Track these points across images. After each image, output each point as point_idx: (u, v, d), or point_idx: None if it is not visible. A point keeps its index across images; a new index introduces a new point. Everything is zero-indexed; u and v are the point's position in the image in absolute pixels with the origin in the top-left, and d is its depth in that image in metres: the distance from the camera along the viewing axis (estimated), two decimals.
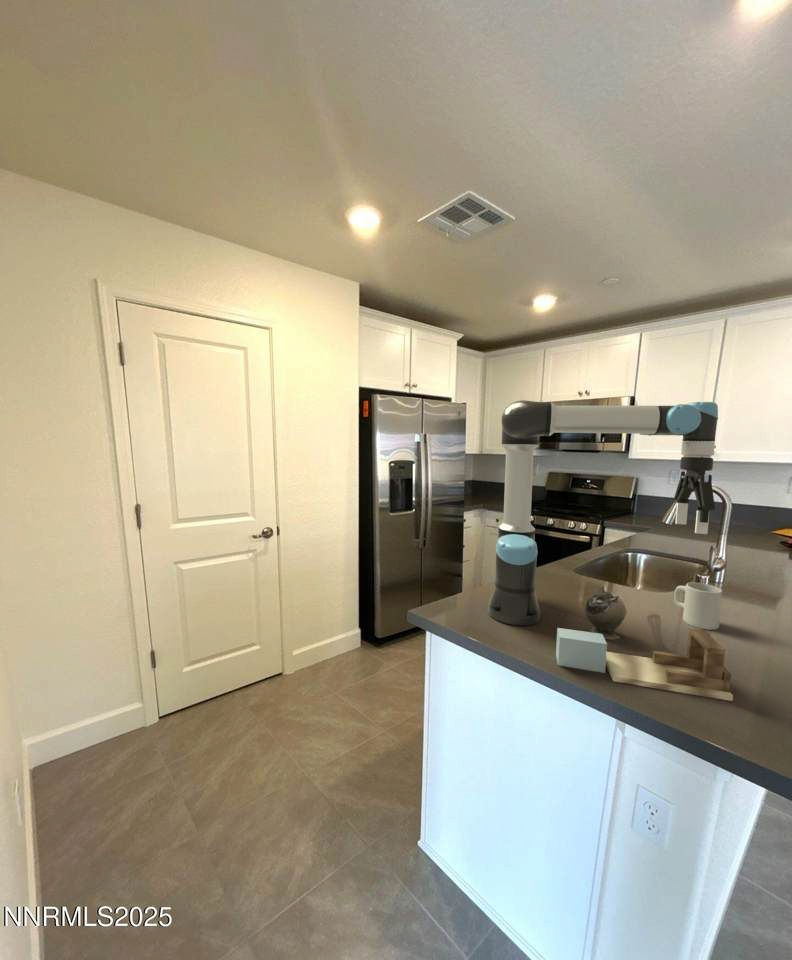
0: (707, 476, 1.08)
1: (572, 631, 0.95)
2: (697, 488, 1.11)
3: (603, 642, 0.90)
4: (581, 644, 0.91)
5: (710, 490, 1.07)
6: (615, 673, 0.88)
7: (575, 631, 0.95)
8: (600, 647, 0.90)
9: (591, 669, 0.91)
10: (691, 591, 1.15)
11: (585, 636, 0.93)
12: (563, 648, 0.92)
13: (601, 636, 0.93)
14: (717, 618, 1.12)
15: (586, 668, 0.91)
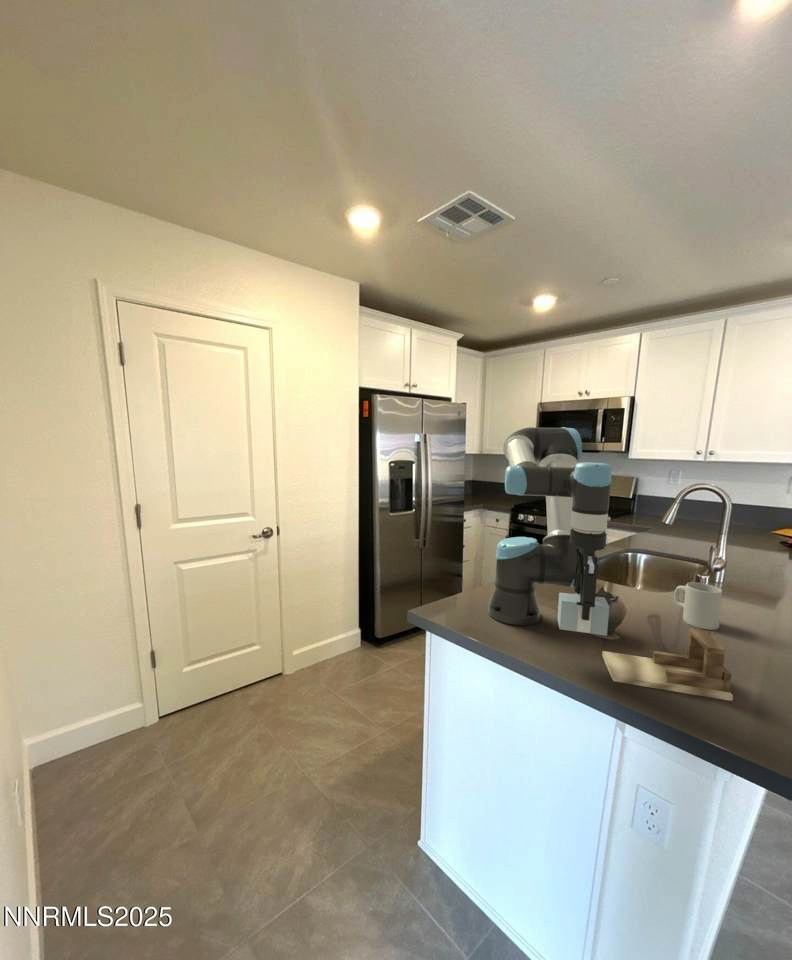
0: (592, 568, 0.85)
1: (574, 595, 0.95)
2: (583, 575, 0.90)
3: (605, 604, 0.90)
4: None
5: (593, 585, 0.86)
6: (615, 673, 0.88)
7: (577, 595, 0.95)
8: (602, 609, 0.90)
9: (593, 632, 0.91)
10: (691, 591, 1.15)
11: None
12: (565, 611, 0.92)
13: (603, 599, 0.93)
14: (717, 618, 1.12)
15: None
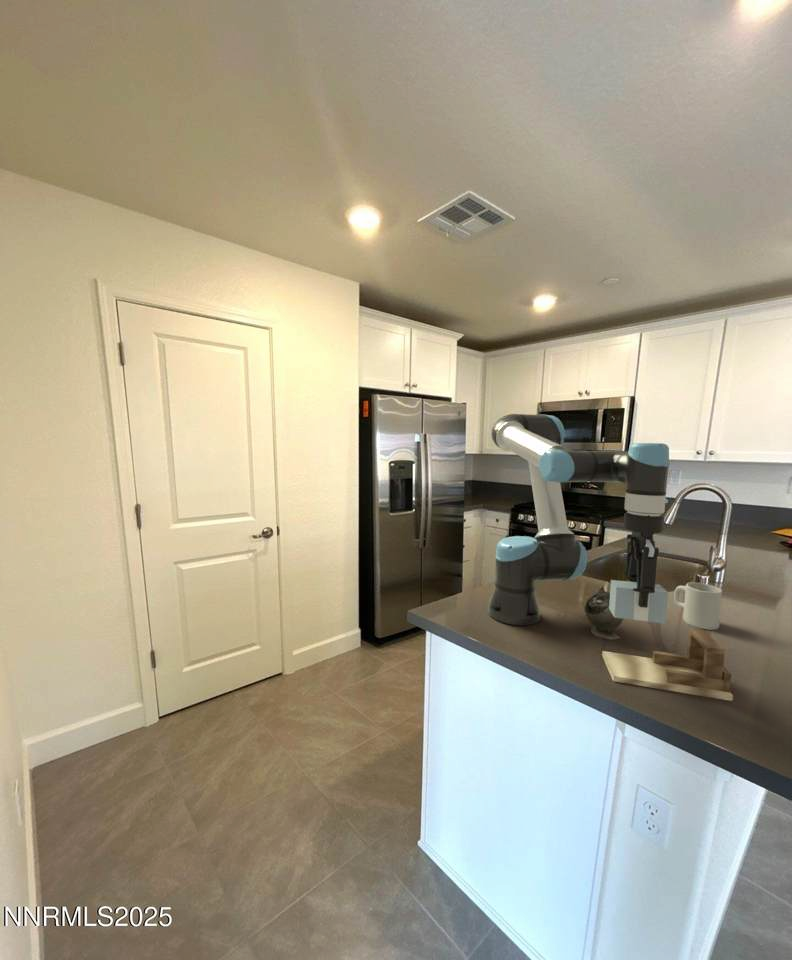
0: (652, 551, 0.82)
1: (627, 582, 0.91)
2: (640, 560, 0.86)
3: (663, 591, 0.86)
4: None
5: (653, 569, 0.82)
6: (615, 673, 0.88)
7: (631, 582, 0.91)
8: (660, 596, 0.85)
9: (650, 620, 0.86)
10: (691, 591, 1.15)
11: None
12: (620, 598, 0.88)
13: (659, 586, 0.89)
14: (717, 618, 1.12)
15: None
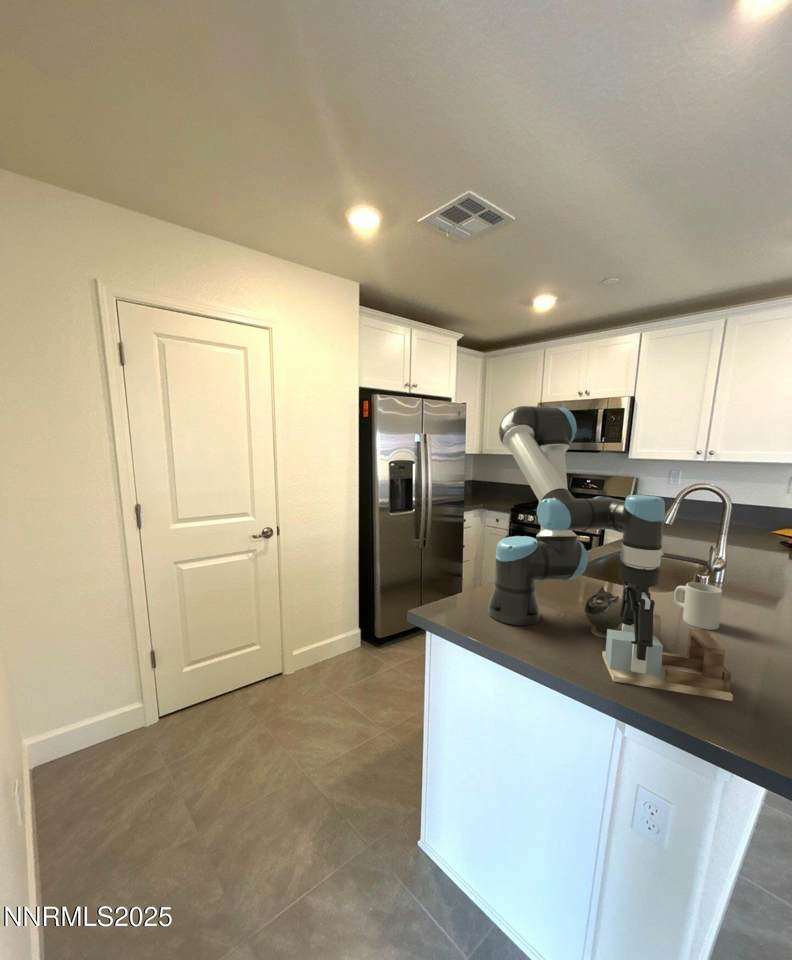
0: (648, 603, 0.82)
1: (623, 632, 0.92)
2: (637, 611, 0.86)
3: (658, 644, 0.87)
4: None
5: (650, 622, 0.83)
6: (615, 673, 0.88)
7: (627, 632, 0.92)
8: (655, 649, 0.87)
9: None
10: (691, 591, 1.15)
11: None
12: (616, 650, 0.89)
13: (655, 638, 0.90)
14: (717, 618, 1.12)
15: None
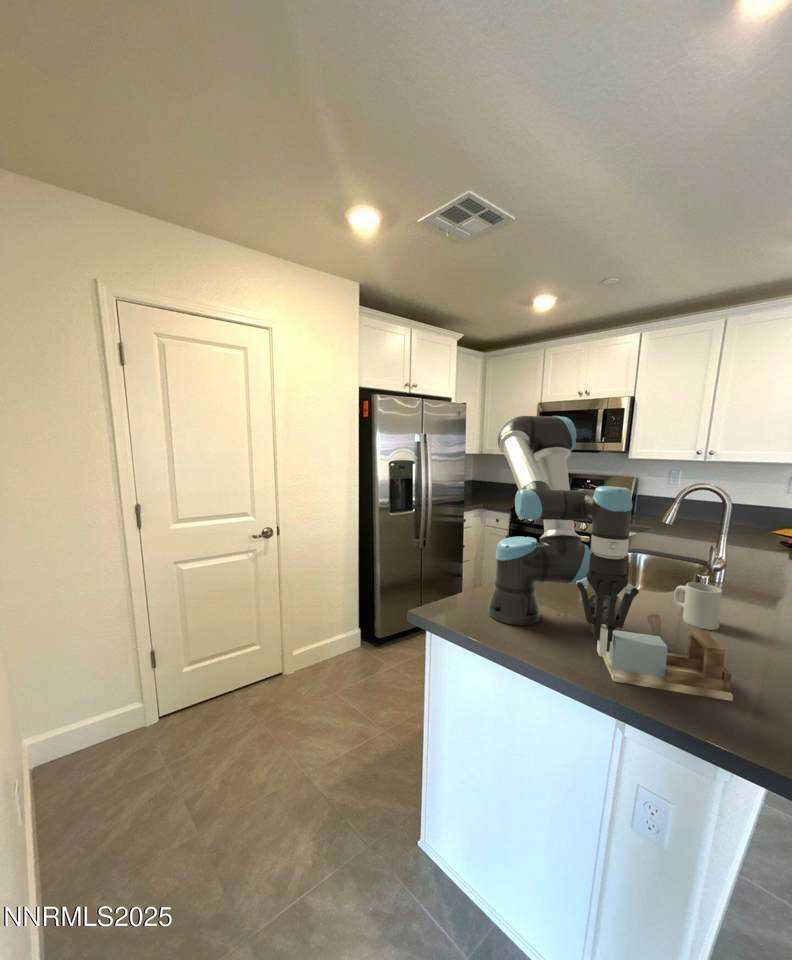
0: None
1: (627, 633, 0.92)
2: (595, 595, 0.92)
3: (663, 644, 0.87)
4: (639, 646, 0.88)
5: (583, 601, 0.92)
6: (615, 673, 0.88)
7: (631, 633, 0.92)
8: (659, 650, 0.86)
9: (650, 673, 0.87)
10: (691, 591, 1.15)
11: (642, 639, 0.89)
12: (620, 651, 0.89)
13: (659, 638, 0.90)
14: (717, 618, 1.12)
15: (644, 672, 0.88)
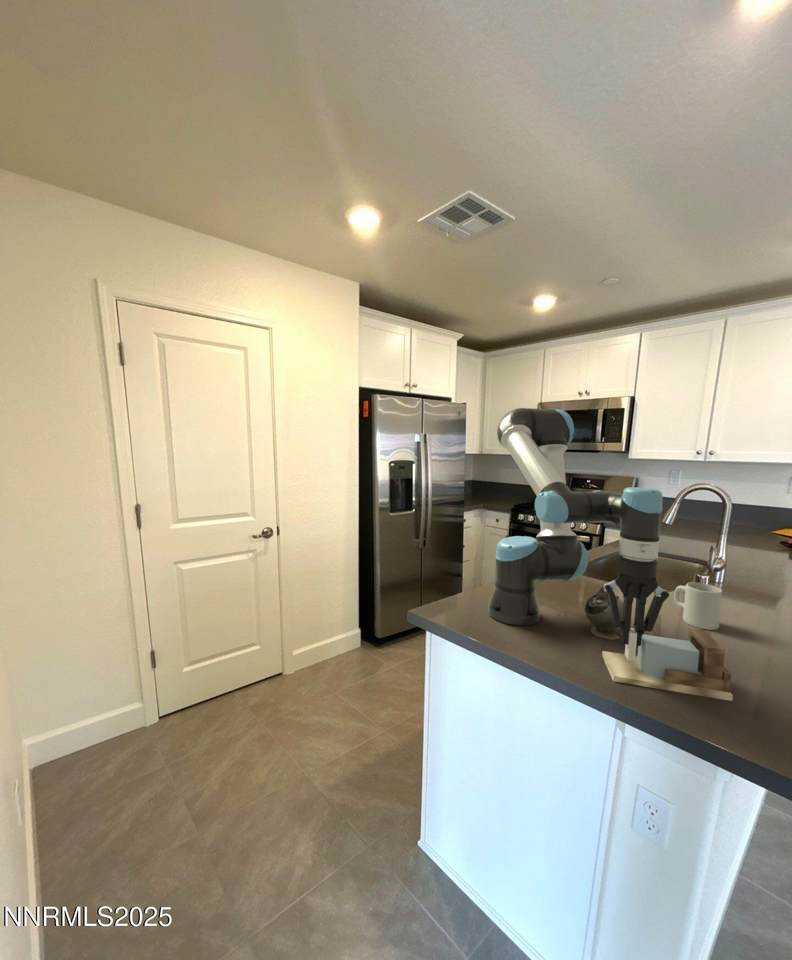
0: (604, 587, 0.91)
1: (657, 638, 0.90)
2: None
3: (694, 649, 0.85)
4: (670, 651, 0.86)
5: (611, 604, 0.90)
6: (615, 673, 0.88)
7: (660, 637, 0.90)
8: (691, 655, 0.85)
9: None
10: (691, 591, 1.15)
11: (673, 643, 0.87)
12: (650, 656, 0.87)
13: (690, 643, 0.88)
14: (717, 618, 1.12)
15: None
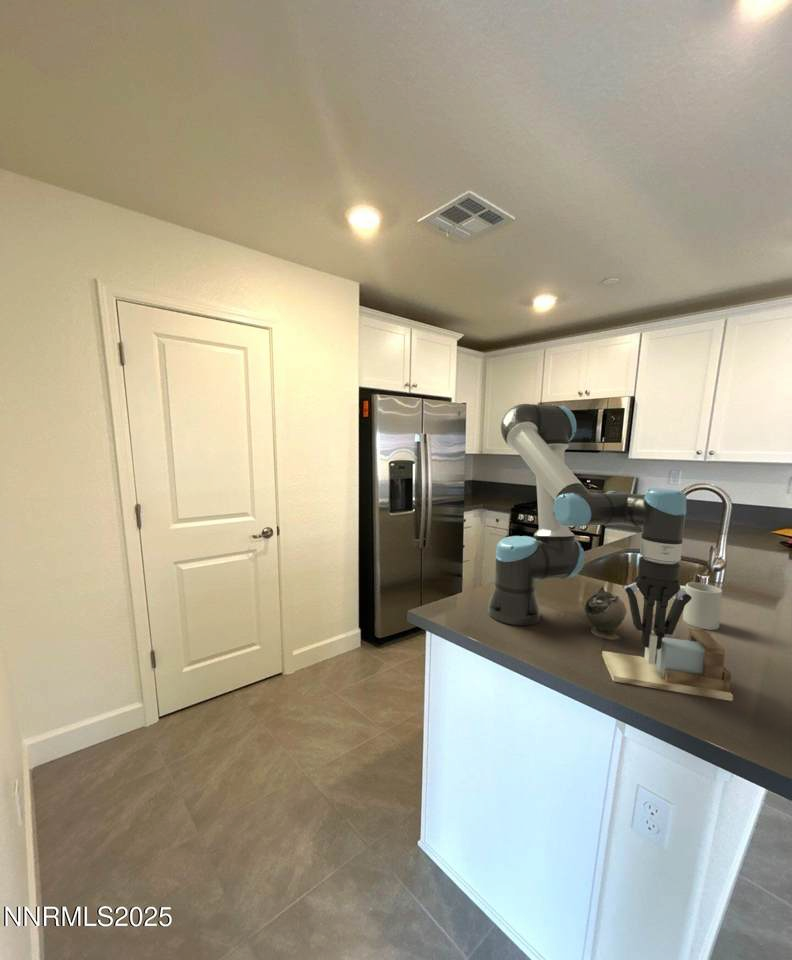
0: (625, 590, 0.89)
1: (676, 640, 0.89)
2: (644, 601, 0.89)
3: None
4: (691, 654, 0.85)
5: (631, 607, 0.89)
6: (615, 673, 0.88)
7: (680, 640, 0.89)
8: None
9: None
10: (691, 591, 1.15)
11: (693, 646, 0.86)
12: (670, 659, 0.86)
13: None
14: (717, 618, 1.12)
15: None
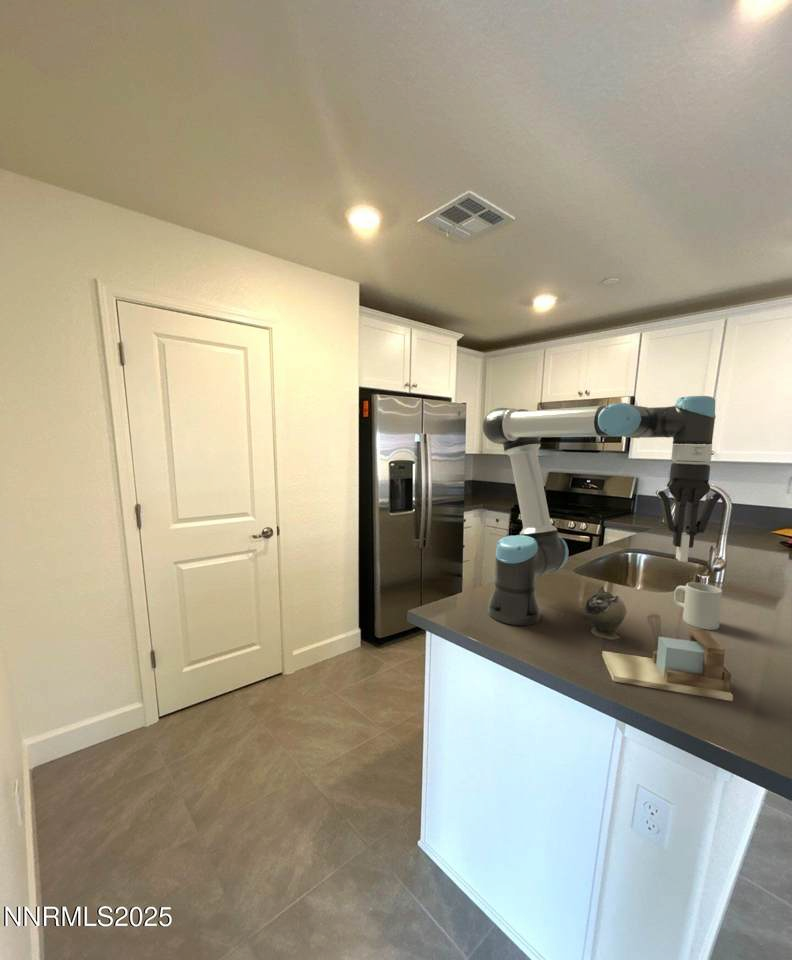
0: (657, 494, 0.96)
1: (676, 640, 0.89)
2: (676, 504, 0.96)
3: None
4: (691, 654, 0.85)
5: (664, 509, 0.95)
6: (615, 673, 0.88)
7: (680, 640, 0.89)
8: None
9: None
10: (691, 591, 1.15)
11: (693, 646, 0.86)
12: (670, 659, 0.86)
13: None
14: (717, 618, 1.12)
15: None
